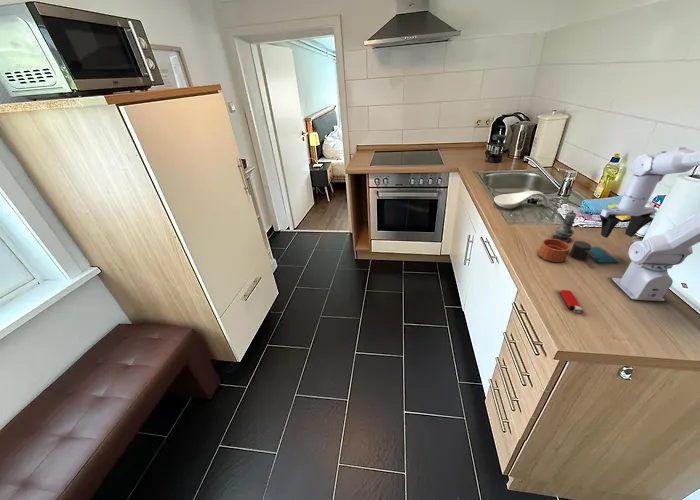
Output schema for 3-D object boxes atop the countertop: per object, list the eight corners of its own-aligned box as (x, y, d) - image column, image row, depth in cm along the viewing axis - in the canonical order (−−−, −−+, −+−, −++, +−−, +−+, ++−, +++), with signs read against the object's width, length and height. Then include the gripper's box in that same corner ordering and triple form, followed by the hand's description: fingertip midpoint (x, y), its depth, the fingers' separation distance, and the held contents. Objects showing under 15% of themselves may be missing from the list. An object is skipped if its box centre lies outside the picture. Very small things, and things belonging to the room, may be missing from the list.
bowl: (569, 263, 96) (575, 251, 94) (543, 262, 98) (548, 250, 95) (558, 250, 103) (563, 239, 100) (534, 250, 104) (538, 238, 102)
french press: (498, 159, 204) (506, 124, 192) (505, 162, 196) (513, 126, 184) (482, 160, 204) (488, 125, 192) (488, 163, 196) (495, 127, 184)
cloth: (598, 263, 96) (598, 262, 96) (581, 248, 103) (581, 247, 103) (617, 262, 96) (617, 261, 95) (598, 248, 103) (598, 247, 103)
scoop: (566, 252, 102) (571, 241, 100) (580, 252, 102) (585, 240, 99) (584, 268, 94) (590, 256, 91) (599, 268, 94) (605, 256, 91)
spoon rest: (497, 211, 133) (501, 197, 129) (489, 201, 143) (492, 188, 139) (551, 210, 130) (557, 196, 127) (539, 200, 140) (543, 186, 137)
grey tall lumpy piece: (554, 233, 113) (564, 205, 107) (572, 237, 110) (583, 209, 104) (551, 239, 110) (562, 211, 103) (569, 244, 106) (582, 215, 100)
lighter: (571, 290, 83) (583, 310, 77) (570, 294, 84) (582, 313, 77) (560, 289, 84) (571, 308, 77) (559, 293, 85) (570, 312, 78)
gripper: (650, 190, 88) (629, 229, 95) (601, 192, 89) (584, 230, 96) (671, 198, 82) (647, 239, 89) (619, 200, 83) (599, 241, 90)
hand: (616, 235), depth 92 cm, fingers open, 7 cm apart
